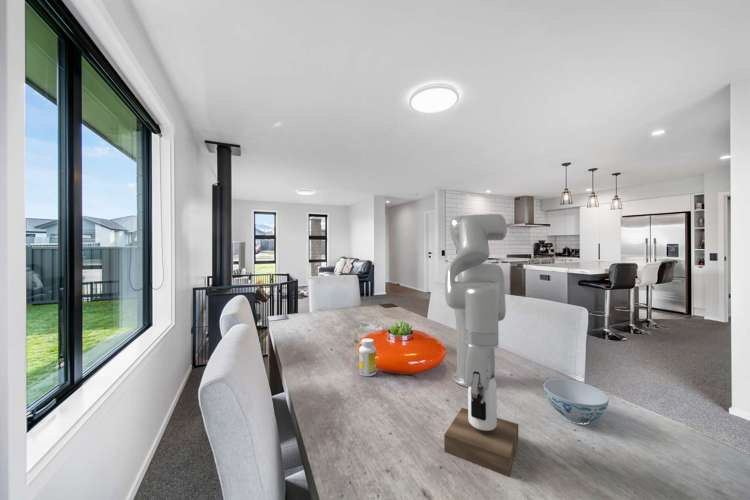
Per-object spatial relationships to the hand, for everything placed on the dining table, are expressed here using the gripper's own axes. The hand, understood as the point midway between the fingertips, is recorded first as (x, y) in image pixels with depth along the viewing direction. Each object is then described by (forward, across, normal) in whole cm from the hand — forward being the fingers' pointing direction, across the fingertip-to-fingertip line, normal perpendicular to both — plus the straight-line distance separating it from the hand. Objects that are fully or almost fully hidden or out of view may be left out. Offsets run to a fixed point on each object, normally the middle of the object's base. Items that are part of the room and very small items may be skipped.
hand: (482, 410), depth 70 cm
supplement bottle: (+9, -19, -47) cm, 51 cm away
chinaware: (+9, -26, +19) cm, 33 cm away
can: (+3, 0, 0) cm, 3 cm away
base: (+8, 0, 0) cm, 8 cm away
